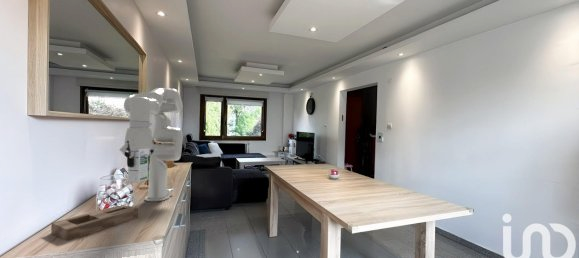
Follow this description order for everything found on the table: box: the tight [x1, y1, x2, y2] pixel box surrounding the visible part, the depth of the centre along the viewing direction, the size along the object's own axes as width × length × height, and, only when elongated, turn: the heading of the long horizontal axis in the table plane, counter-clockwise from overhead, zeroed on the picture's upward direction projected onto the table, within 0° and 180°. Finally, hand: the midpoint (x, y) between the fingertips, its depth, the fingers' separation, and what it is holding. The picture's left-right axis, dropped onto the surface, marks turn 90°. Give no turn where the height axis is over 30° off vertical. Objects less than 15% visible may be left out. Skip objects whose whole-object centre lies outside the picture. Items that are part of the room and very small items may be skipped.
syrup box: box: [127, 148, 149, 183], centre depth 106 cm, size 6×6×14 cm
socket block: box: [50, 204, 139, 241], centre depth 102 cm, size 12×26×4 cm, turn 155°
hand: (138, 165), depth 106 cm, fingers closed on syrup box, 6 cm apart
